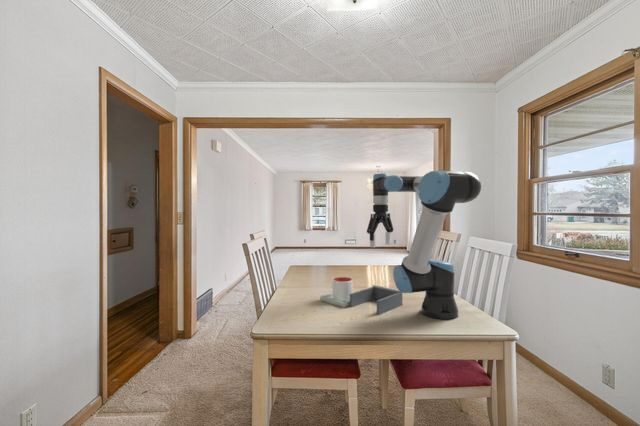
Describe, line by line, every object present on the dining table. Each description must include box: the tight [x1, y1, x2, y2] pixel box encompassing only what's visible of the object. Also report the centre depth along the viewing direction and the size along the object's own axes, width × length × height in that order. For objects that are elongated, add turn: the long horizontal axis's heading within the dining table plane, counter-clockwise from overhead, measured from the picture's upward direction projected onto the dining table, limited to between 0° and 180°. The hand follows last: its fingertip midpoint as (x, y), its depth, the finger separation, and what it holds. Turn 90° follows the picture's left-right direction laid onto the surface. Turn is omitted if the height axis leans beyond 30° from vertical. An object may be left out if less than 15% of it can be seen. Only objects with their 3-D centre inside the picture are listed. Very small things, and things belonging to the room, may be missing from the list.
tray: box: [319, 292, 350, 309], centre depth 160 cm, size 16×16×2 cm
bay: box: [349, 284, 403, 316], centre depth 151 cm, size 16×19×7 cm
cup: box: [332, 276, 354, 301], centre depth 160 cm, size 10×10×10 cm
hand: (380, 245), depth 164 cm, fingers open, 13 cm apart
